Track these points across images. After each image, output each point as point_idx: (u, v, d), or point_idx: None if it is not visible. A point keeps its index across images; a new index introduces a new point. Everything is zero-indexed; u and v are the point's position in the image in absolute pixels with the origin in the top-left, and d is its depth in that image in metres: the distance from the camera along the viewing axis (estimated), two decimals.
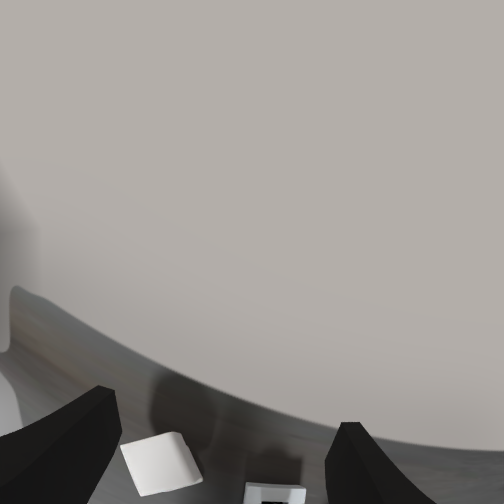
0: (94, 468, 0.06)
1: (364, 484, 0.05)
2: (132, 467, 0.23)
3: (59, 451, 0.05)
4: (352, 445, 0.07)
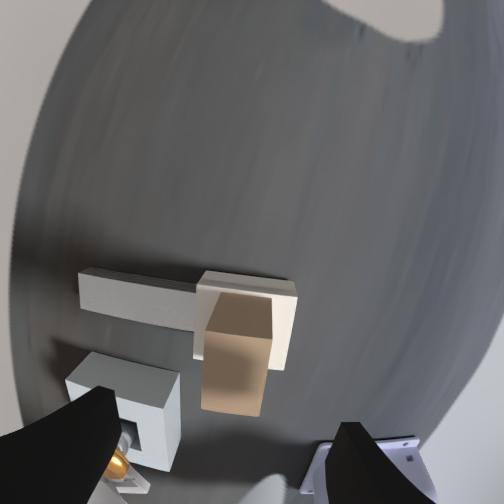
0: (94, 468, 0.06)
1: (364, 484, 0.05)
2: None
3: (59, 451, 0.05)
4: (352, 445, 0.07)
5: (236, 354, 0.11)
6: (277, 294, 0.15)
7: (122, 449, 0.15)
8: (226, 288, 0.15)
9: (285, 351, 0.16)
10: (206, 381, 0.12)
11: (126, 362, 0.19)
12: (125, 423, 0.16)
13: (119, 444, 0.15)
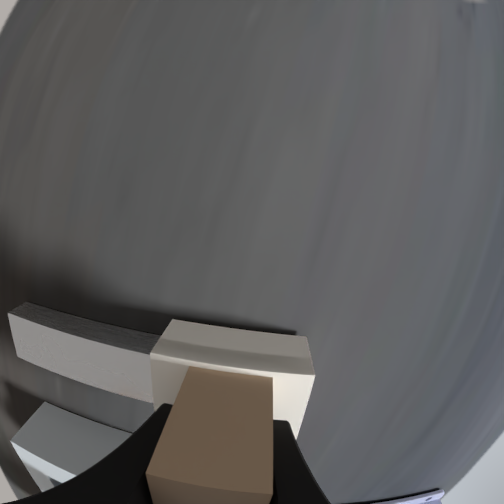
0: None
1: None
2: None
3: (144, 483, 0.05)
4: None
5: None
6: (281, 371, 0.09)
7: None
8: (197, 361, 0.09)
9: None
10: None
11: (83, 420, 0.13)
12: None
13: None
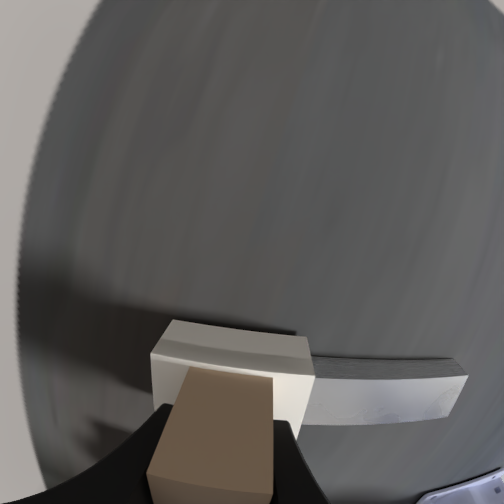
0: None
1: None
2: None
3: (144, 483, 0.05)
4: None
5: None
6: (281, 371, 0.09)
7: None
8: (198, 361, 0.09)
9: None
10: None
11: None
12: None
13: None
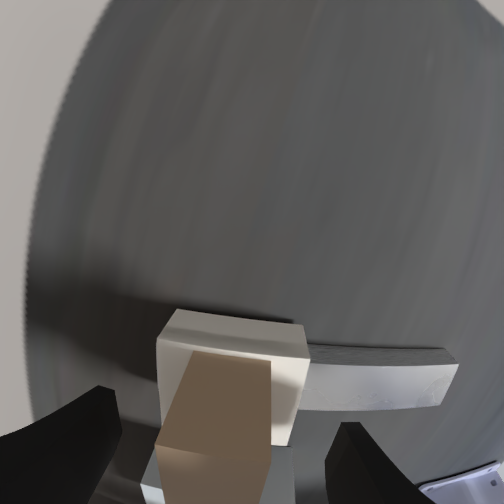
0: (94, 468, 0.06)
1: (364, 484, 0.05)
2: None
3: (59, 451, 0.05)
4: (352, 445, 0.07)
5: (210, 475, 0.06)
6: (279, 354, 0.09)
7: None
8: (201, 346, 0.09)
9: (289, 425, 0.10)
10: (169, 495, 0.06)
11: None
12: None
13: None
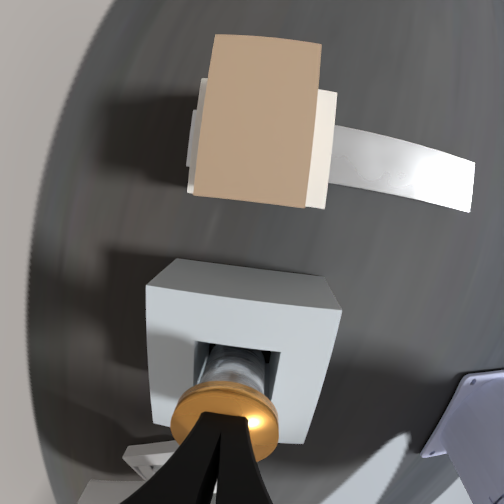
0: (208, 499, 0.06)
1: (218, 480, 0.05)
2: None
3: (200, 495, 0.05)
4: (220, 438, 0.07)
5: (264, 66, 0.06)
6: None
7: None
8: None
9: (326, 173, 0.10)
10: (208, 124, 0.06)
11: (240, 267, 0.14)
12: (254, 358, 0.11)
13: None
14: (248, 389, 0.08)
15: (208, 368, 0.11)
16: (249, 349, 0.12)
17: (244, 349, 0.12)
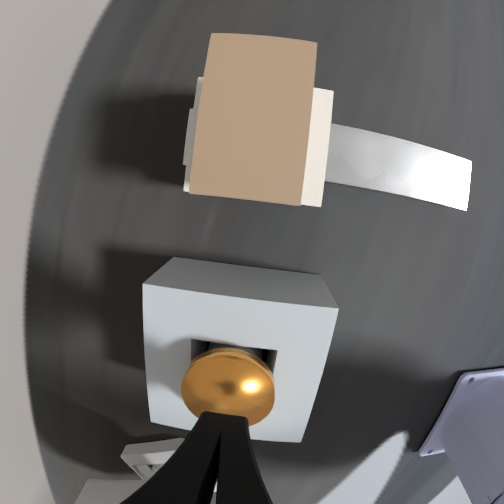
0: (208, 499, 0.06)
1: (218, 480, 0.05)
2: None
3: (200, 496, 0.05)
4: (220, 438, 0.07)
5: (259, 65, 0.06)
6: None
7: None
8: None
9: (322, 172, 0.11)
10: (204, 123, 0.06)
11: (236, 266, 0.14)
12: None
13: None
14: (248, 354, 0.10)
15: (213, 342, 0.13)
16: None
17: None
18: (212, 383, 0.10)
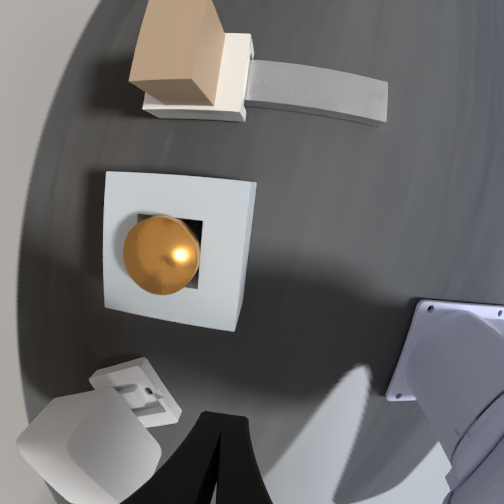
0: (208, 499, 0.06)
1: (218, 480, 0.05)
2: None
3: (199, 495, 0.05)
4: (220, 438, 0.07)
5: (174, 10, 0.09)
6: (230, 34, 0.12)
7: None
8: None
9: (240, 87, 0.13)
10: (140, 44, 0.09)
11: None
12: (194, 225, 0.16)
13: None
14: (177, 219, 0.13)
15: None
16: (192, 221, 0.16)
17: (188, 220, 0.16)
18: (146, 242, 0.13)
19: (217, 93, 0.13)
